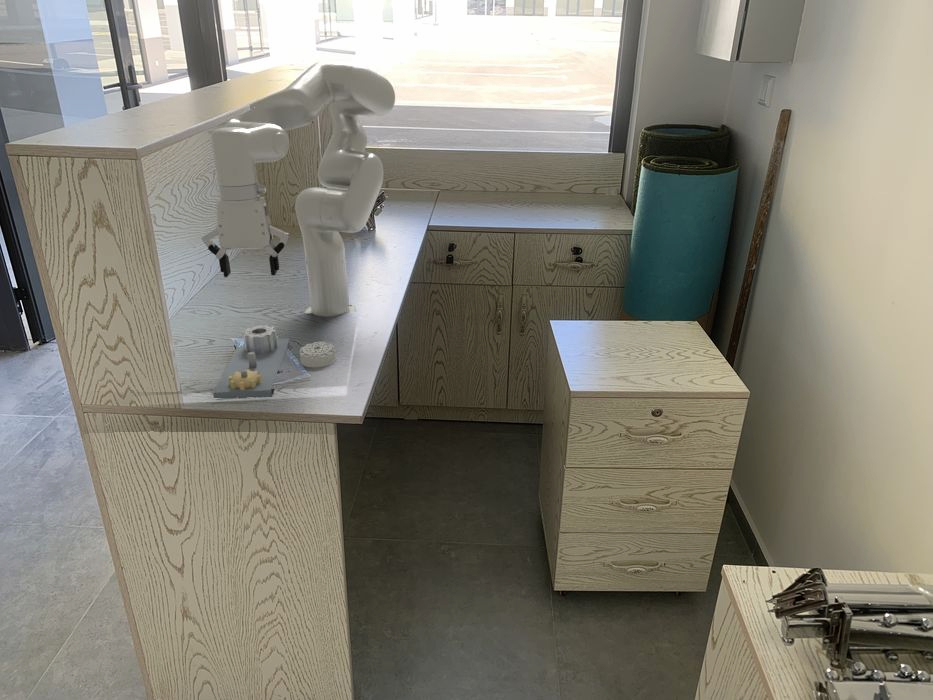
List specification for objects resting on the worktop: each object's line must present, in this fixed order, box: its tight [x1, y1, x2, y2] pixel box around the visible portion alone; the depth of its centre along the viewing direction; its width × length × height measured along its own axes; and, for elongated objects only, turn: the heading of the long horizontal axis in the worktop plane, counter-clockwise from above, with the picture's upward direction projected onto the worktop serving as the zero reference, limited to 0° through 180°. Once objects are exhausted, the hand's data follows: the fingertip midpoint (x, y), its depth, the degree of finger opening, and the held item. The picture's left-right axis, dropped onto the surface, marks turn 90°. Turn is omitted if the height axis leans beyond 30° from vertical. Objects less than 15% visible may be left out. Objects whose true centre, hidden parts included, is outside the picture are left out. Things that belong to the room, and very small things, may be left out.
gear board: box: [212, 338, 291, 399], centre depth 145 cm, size 25×11×4 cm, turn 5°
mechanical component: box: [299, 341, 338, 368], centre depth 147 cm, size 10×4×10 cm
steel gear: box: [241, 324, 278, 355], centre depth 152 cm, size 7×7×4 cm
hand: (250, 274), depth 146 cm, fingers open, 9 cm apart
